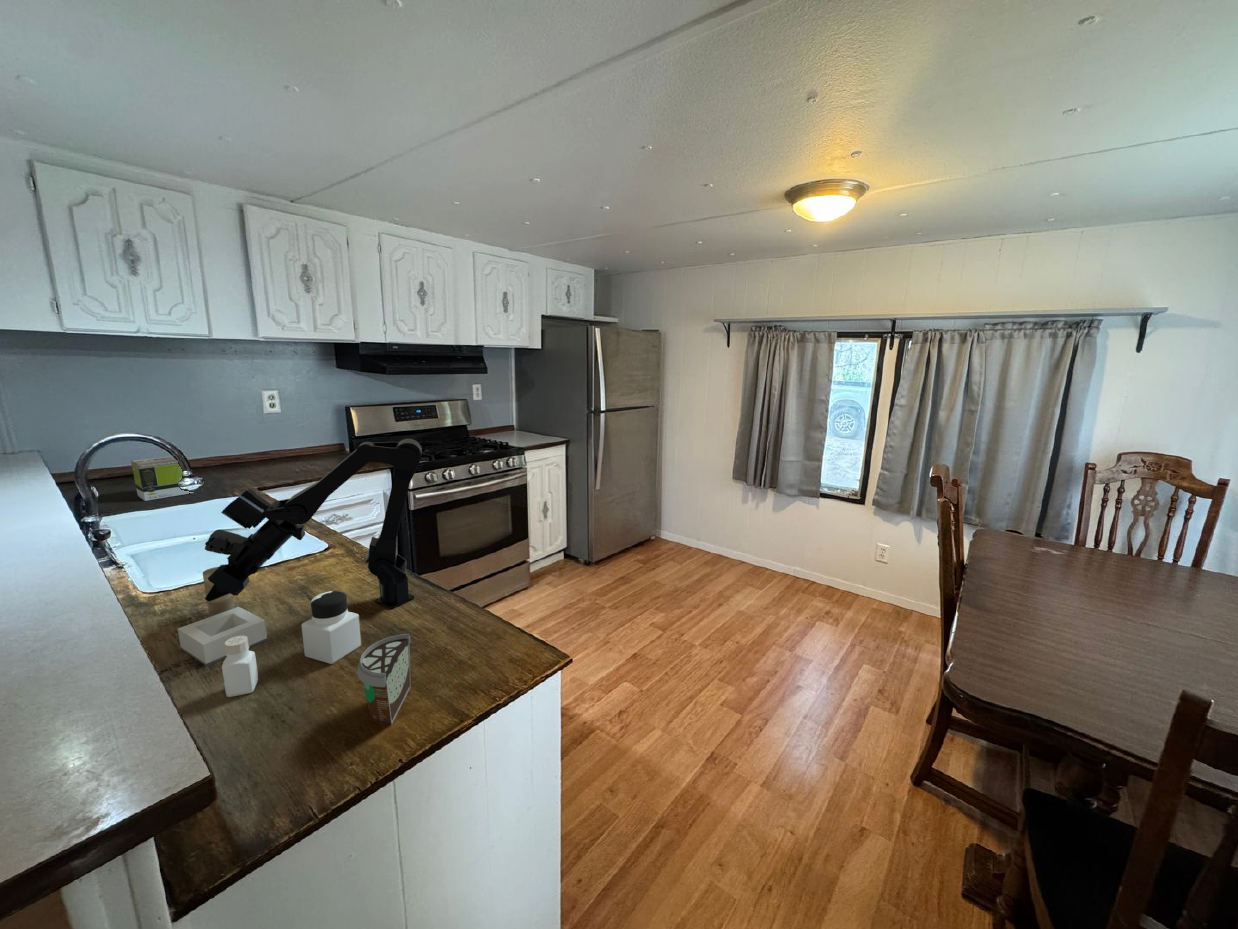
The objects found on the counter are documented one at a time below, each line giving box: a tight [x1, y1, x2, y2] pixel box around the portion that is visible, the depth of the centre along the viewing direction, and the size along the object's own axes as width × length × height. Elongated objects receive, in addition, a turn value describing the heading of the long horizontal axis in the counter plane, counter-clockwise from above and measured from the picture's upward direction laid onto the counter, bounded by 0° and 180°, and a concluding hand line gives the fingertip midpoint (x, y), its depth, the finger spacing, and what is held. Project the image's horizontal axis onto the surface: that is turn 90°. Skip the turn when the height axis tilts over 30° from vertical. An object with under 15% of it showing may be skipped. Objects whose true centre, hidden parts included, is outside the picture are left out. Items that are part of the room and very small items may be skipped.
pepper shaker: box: [221, 636, 259, 698], centre depth 86 cm, size 4×4×10 cm
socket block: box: [177, 606, 268, 667], centre depth 99 cm, size 10×10×4 cm
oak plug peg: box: [202, 566, 236, 618], centre depth 107 cm, size 4×4×12 cm
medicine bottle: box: [301, 590, 362, 665], centre depth 98 cm, size 7×7×12 cm
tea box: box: [130, 455, 194, 502], centre depth 195 cm, size 15×10×15 cm, turn 144°
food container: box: [356, 633, 412, 726], centre depth 83 cm, size 12×6×10 cm, turn 5°
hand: (211, 595), depth 106 cm, fingers closed on oak plug peg, 4 cm apart
